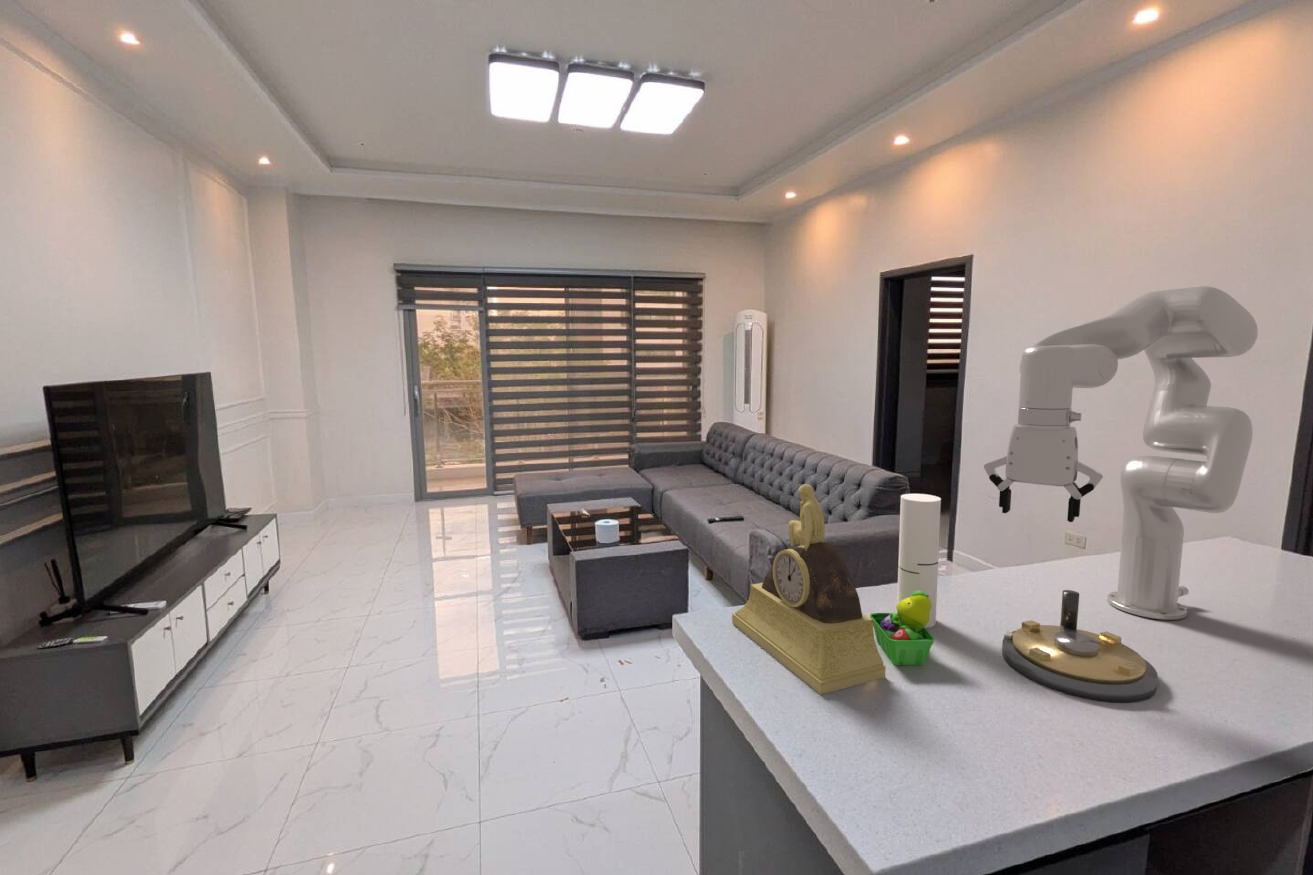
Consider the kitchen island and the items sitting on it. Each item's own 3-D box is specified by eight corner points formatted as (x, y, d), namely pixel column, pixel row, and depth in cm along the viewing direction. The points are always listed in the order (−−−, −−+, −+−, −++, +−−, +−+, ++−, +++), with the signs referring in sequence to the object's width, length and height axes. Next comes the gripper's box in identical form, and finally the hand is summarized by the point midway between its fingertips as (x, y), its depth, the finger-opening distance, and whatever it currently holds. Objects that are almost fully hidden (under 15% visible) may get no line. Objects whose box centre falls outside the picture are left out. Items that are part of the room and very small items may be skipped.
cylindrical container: (939, 629, 113) (945, 502, 110) (900, 626, 114) (905, 501, 111) (930, 613, 120) (935, 494, 117) (893, 611, 121) (897, 493, 118)
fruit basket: (867, 638, 110) (869, 580, 108) (915, 638, 109) (917, 580, 108) (889, 669, 98) (891, 605, 97) (942, 669, 98) (945, 605, 97)
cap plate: (1059, 631, 111) (1060, 618, 111) (1189, 687, 91) (1191, 671, 91) (973, 649, 104) (974, 635, 104) (1094, 714, 85) (1095, 697, 84)
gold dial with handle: (1062, 625, 109) (1065, 581, 108) (1173, 671, 92) (1178, 620, 91) (988, 640, 103) (990, 595, 102) (1092, 693, 86) (1096, 639, 85)
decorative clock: (732, 623, 117) (732, 475, 114) (786, 612, 122) (788, 470, 118) (820, 695, 91) (824, 506, 88) (885, 678, 96) (891, 498, 92)
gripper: (1109, 419, 97) (1101, 519, 99) (992, 414, 109) (987, 505, 111) (1105, 422, 92) (1096, 529, 94) (982, 417, 103) (977, 512, 105)
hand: (1037, 515), depth 102 cm, fingers open, 9 cm apart
